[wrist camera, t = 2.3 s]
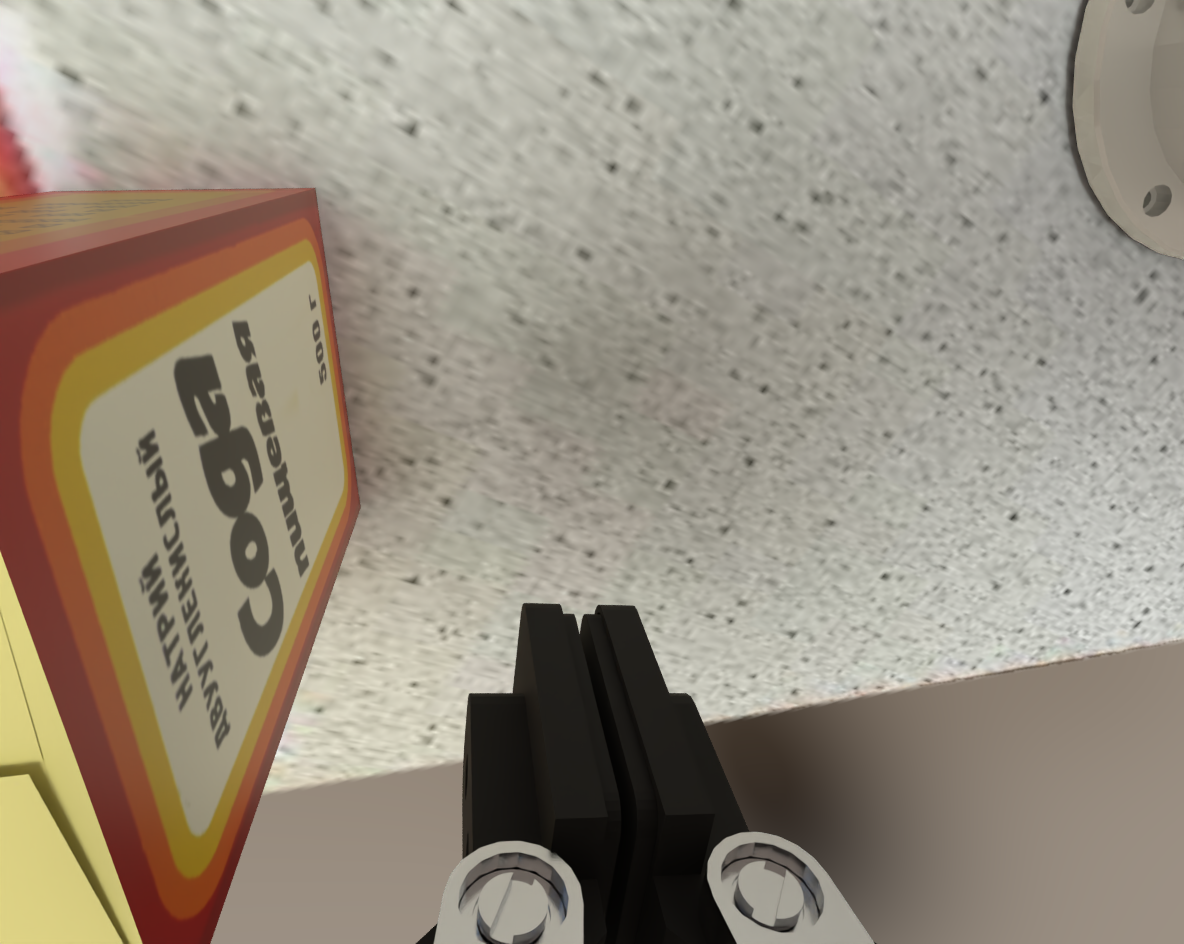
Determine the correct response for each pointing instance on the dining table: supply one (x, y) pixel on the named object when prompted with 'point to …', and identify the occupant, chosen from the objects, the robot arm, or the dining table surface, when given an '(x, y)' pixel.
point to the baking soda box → (156, 542)
